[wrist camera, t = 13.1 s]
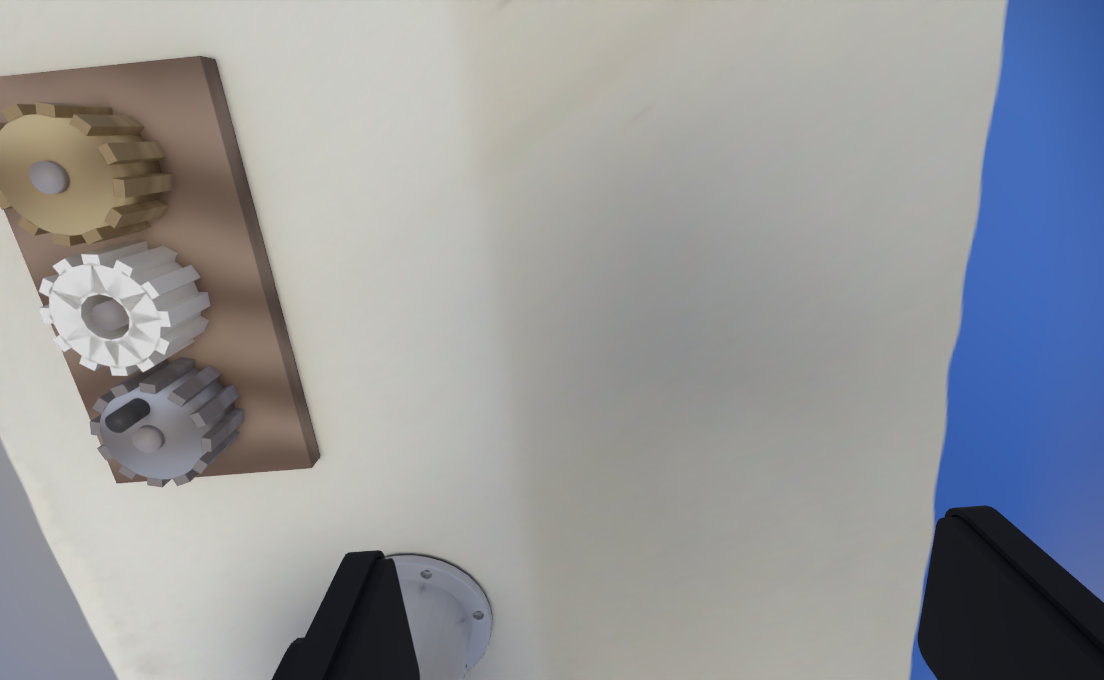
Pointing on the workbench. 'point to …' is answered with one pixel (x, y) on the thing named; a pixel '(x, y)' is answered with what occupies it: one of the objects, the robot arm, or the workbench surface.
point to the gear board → (162, 220)
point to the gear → (125, 306)
